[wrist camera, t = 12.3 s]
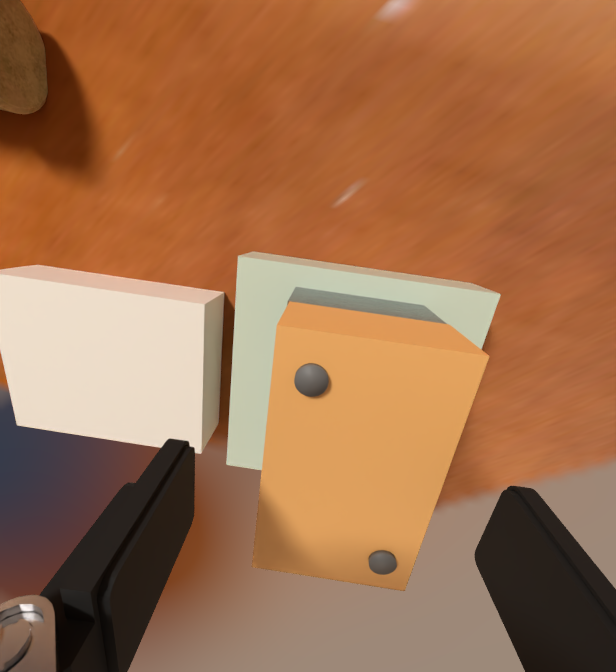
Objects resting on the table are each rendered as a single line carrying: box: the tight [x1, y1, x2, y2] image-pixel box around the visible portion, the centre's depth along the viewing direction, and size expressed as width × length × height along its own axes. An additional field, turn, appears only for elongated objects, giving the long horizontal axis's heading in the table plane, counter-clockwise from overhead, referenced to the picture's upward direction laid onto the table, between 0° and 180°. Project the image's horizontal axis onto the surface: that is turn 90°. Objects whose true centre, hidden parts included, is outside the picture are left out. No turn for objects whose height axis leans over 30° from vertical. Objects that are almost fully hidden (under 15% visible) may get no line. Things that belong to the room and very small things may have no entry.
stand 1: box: [0, 265, 224, 454], centre depth 18 cm, size 11×9×3 cm
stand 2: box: [226, 251, 501, 470], centre depth 17 cm, size 12×12×3 cm
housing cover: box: [252, 301, 489, 591], centre depth 12 cm, size 10×6×3 cm, turn 172°
